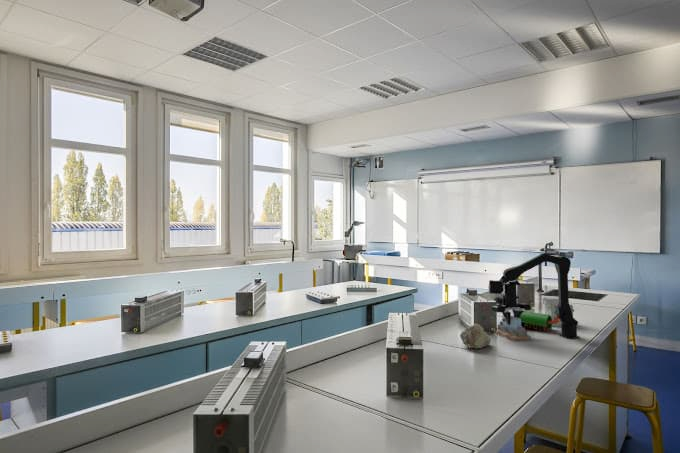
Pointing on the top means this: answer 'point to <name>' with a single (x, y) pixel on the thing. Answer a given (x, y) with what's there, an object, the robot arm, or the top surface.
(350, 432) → the top surface
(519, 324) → the cabinet door
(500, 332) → the cabinet base
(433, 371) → the top surface
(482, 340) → the lumpy boulder
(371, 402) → the top surface
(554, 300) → the circuit breaker
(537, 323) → the motor
